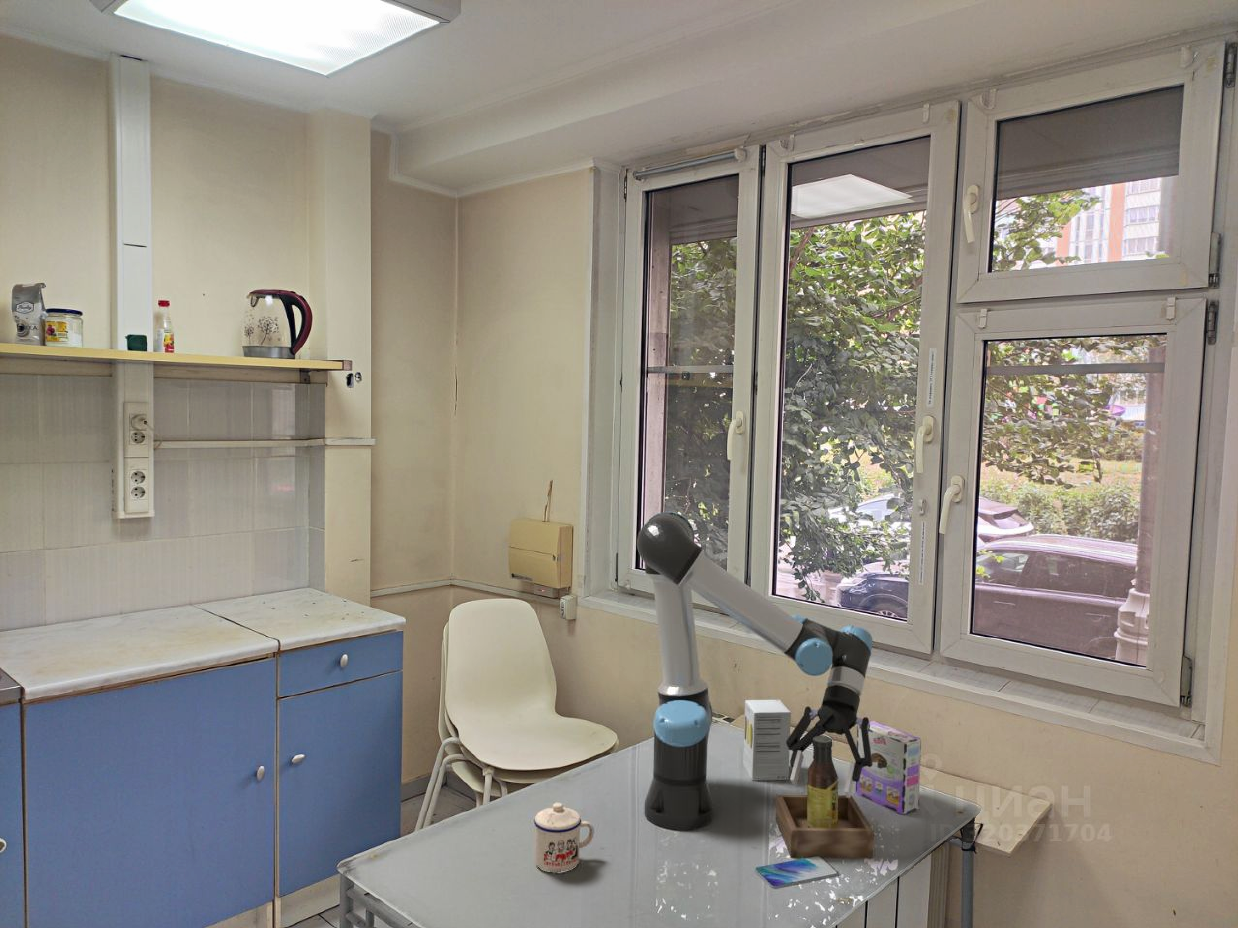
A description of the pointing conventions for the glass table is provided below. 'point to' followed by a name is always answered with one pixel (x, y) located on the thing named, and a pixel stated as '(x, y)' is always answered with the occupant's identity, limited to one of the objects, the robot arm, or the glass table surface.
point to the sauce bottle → (822, 786)
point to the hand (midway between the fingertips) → (819, 788)
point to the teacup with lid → (559, 838)
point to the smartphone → (796, 872)
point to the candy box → (891, 768)
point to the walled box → (824, 830)
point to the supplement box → (766, 740)
